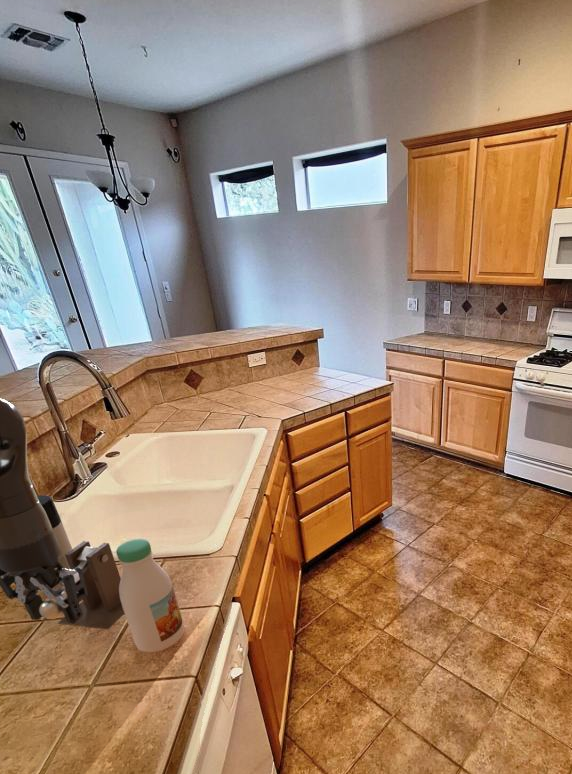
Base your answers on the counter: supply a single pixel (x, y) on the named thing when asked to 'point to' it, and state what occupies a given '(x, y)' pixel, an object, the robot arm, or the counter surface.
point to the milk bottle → (148, 598)
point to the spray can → (56, 530)
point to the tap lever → (51, 606)
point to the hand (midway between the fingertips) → (57, 617)
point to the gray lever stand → (98, 587)
